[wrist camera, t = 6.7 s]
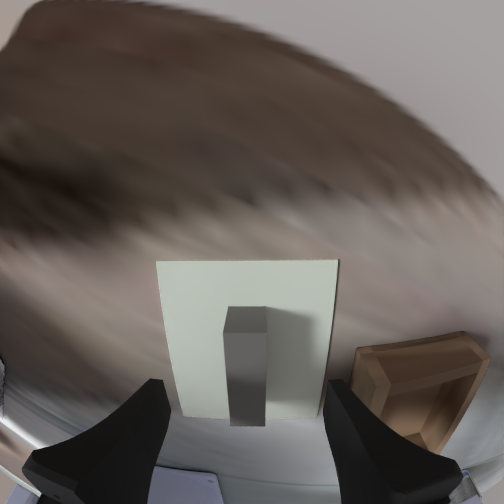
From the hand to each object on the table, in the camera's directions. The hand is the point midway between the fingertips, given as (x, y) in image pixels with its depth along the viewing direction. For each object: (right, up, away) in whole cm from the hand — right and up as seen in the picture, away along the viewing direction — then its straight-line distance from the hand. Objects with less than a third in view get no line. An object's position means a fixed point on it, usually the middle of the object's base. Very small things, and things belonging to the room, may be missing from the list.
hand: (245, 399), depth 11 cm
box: (+10, -4, +5) cm, 12 cm away
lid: (0, +1, +4) cm, 4 cm away
